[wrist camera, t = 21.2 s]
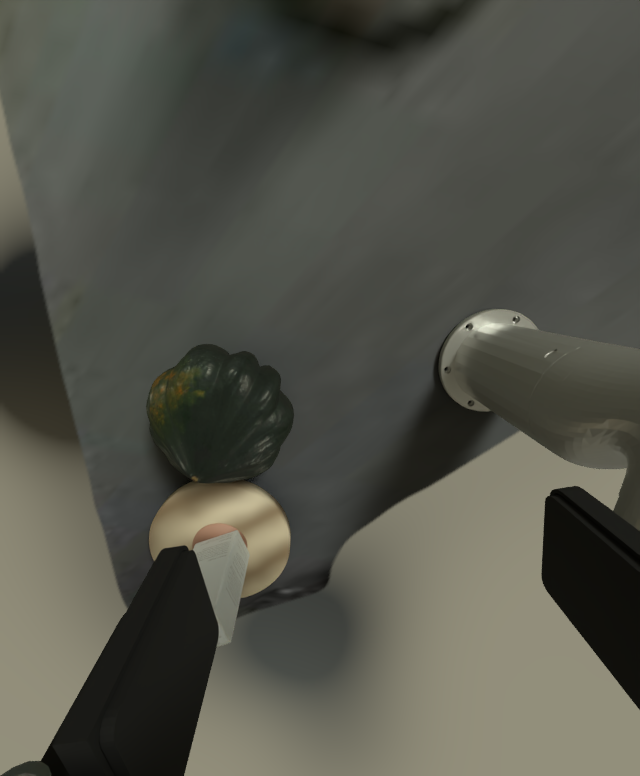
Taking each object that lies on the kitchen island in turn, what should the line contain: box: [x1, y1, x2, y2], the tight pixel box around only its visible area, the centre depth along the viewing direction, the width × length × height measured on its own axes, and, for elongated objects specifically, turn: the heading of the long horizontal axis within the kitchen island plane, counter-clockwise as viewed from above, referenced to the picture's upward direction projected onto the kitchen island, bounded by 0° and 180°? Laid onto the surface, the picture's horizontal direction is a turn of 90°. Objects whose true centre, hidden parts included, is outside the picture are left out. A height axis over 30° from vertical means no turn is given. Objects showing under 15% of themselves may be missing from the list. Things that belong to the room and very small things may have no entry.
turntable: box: [149, 480, 291, 598], centre depth 42 cm, size 18×18×8 cm
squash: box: [146, 344, 294, 484], centre depth 37 cm, size 14×15×15 cm
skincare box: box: [193, 530, 250, 647], centre depth 38 cm, size 6×4×12 cm
